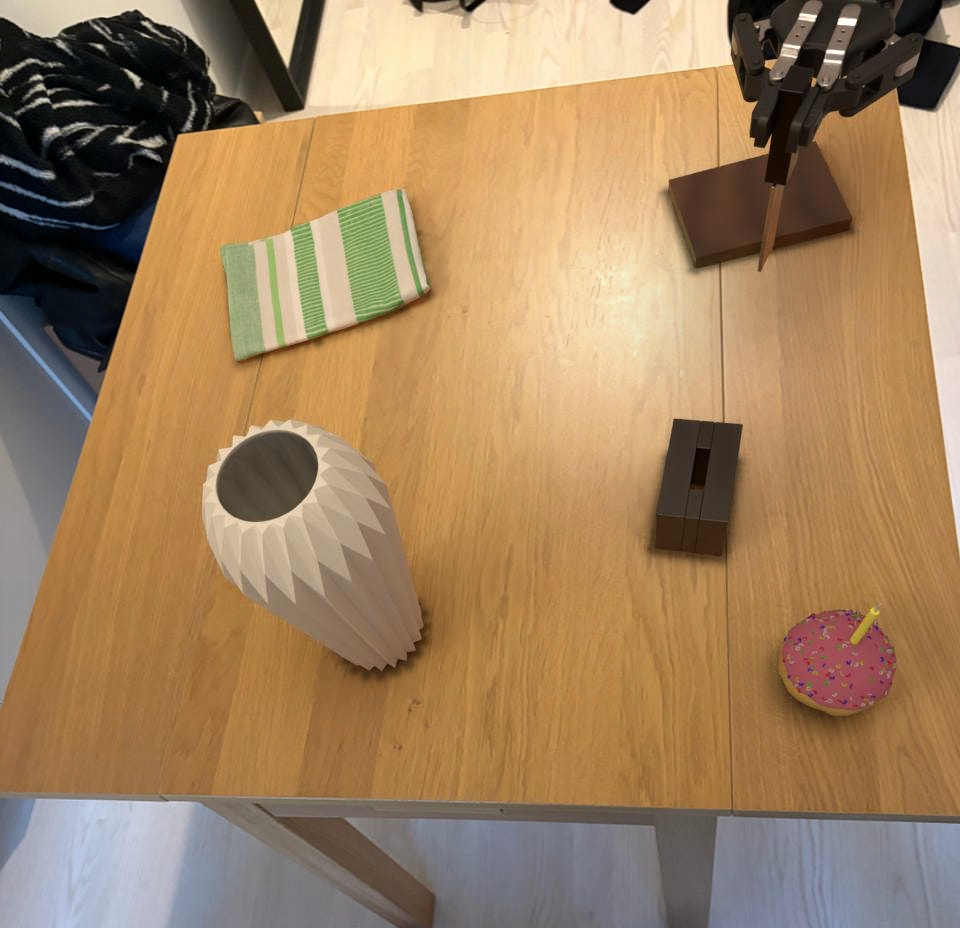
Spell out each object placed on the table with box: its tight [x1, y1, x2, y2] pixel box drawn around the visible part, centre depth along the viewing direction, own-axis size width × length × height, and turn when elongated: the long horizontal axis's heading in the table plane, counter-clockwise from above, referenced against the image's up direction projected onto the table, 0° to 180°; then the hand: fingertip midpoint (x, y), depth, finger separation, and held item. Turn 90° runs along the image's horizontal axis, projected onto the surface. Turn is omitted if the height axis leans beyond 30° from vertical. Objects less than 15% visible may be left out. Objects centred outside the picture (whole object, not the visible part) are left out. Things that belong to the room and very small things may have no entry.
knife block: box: [654, 418, 744, 556], centre depth 74 cm, size 6×10×6 cm, turn 167°
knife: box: [757, 65, 814, 273], centre depth 61 cm, size 2×3×15 cm, turn 154°
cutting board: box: [667, 140, 853, 269], centre depth 88 cm, size 16×12×2 cm
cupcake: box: [777, 602, 899, 717], centre depth 63 cm, size 9×8×12 cm
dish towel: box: [220, 188, 432, 362], centre depth 95 cm, size 18×23×3 cm
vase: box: [201, 418, 425, 672], centre depth 65 cm, size 13×13×26 cm
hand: (777, 138), depth 55 cm, fingers closed on knife, 1 cm apart
